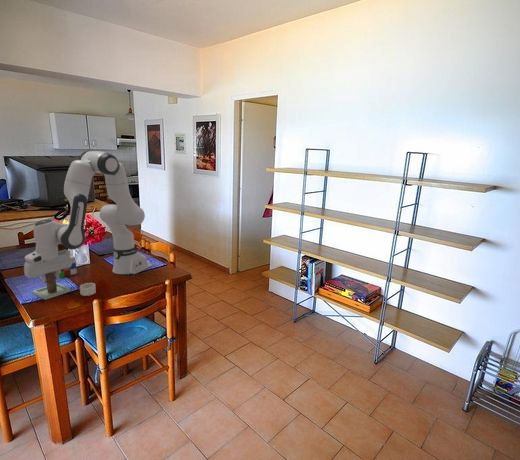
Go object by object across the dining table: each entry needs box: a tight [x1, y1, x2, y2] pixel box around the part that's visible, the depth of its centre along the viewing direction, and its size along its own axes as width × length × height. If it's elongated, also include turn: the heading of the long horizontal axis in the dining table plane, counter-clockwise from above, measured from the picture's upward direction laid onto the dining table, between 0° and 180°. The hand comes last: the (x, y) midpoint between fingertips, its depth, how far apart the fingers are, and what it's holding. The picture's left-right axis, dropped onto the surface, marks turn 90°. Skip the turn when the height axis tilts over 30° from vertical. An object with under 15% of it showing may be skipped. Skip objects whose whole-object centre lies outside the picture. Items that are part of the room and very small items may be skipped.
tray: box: [32, 282, 72, 301], centre depth 162 cm, size 12×12×2 cm
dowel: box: [44, 271, 57, 293], centre depth 161 cm, size 4×4×10 cm
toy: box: [55, 253, 78, 279], centre depth 186 cm, size 10×10×10 cm
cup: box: [79, 282, 97, 297], centre depth 163 cm, size 7×7×4 cm
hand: (50, 280), depth 161 cm, fingers open, 4 cm apart
